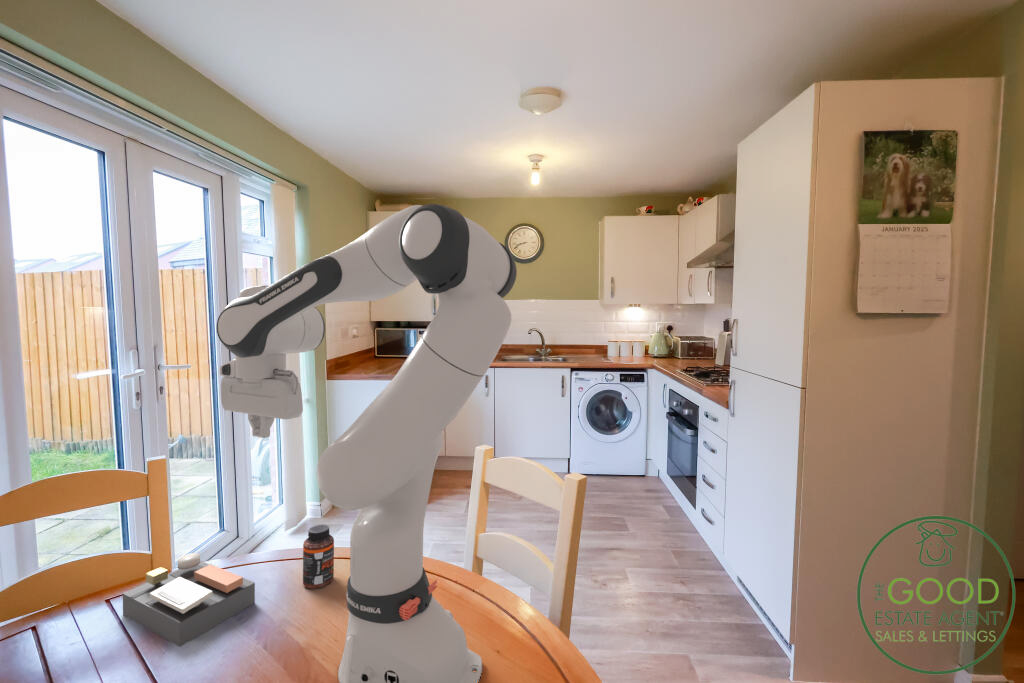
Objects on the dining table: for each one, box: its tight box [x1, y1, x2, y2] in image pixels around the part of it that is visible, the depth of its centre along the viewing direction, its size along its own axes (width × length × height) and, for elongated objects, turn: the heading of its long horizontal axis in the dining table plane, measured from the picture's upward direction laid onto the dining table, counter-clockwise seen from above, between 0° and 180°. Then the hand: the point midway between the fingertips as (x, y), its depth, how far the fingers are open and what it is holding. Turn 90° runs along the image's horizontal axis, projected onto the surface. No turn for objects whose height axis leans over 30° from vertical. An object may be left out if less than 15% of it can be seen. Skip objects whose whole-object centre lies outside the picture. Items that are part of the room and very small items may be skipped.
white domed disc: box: [177, 552, 201, 570], centre depth 88 cm, size 4×4×1 cm
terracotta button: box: [194, 563, 244, 593], centre depth 84 cm, size 10×3×1 cm, turn 64°
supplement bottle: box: [302, 524, 335, 590], centre depth 92 cm, size 6×6×11 cm
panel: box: [122, 560, 256, 647], centre depth 82 cm, size 18×13×4 cm
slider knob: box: [145, 566, 169, 586], centre depth 83 cm, size 2×2×2 cm
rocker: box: [150, 577, 213, 614], centre depth 78 cm, size 10×5×1 cm, turn 65°
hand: (261, 436), depth 88 cm, fingers closed
